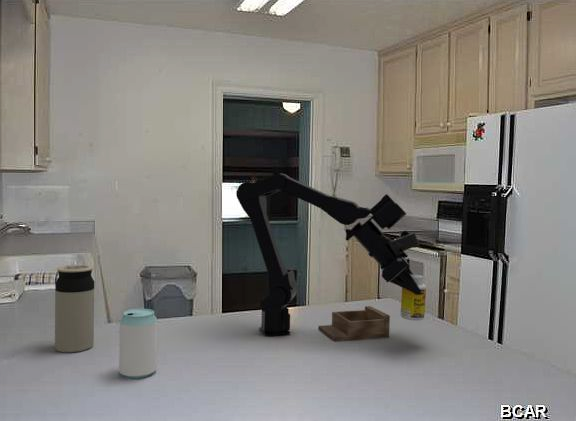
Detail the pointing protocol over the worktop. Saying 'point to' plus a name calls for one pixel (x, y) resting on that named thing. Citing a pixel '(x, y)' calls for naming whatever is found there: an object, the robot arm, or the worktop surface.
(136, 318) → the can
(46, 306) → the worktop surface
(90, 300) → the travel mug
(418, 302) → the supplement bottle
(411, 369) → the worktop surface
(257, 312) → the worktop surface
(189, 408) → the worktop surface
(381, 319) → the open wooden box
